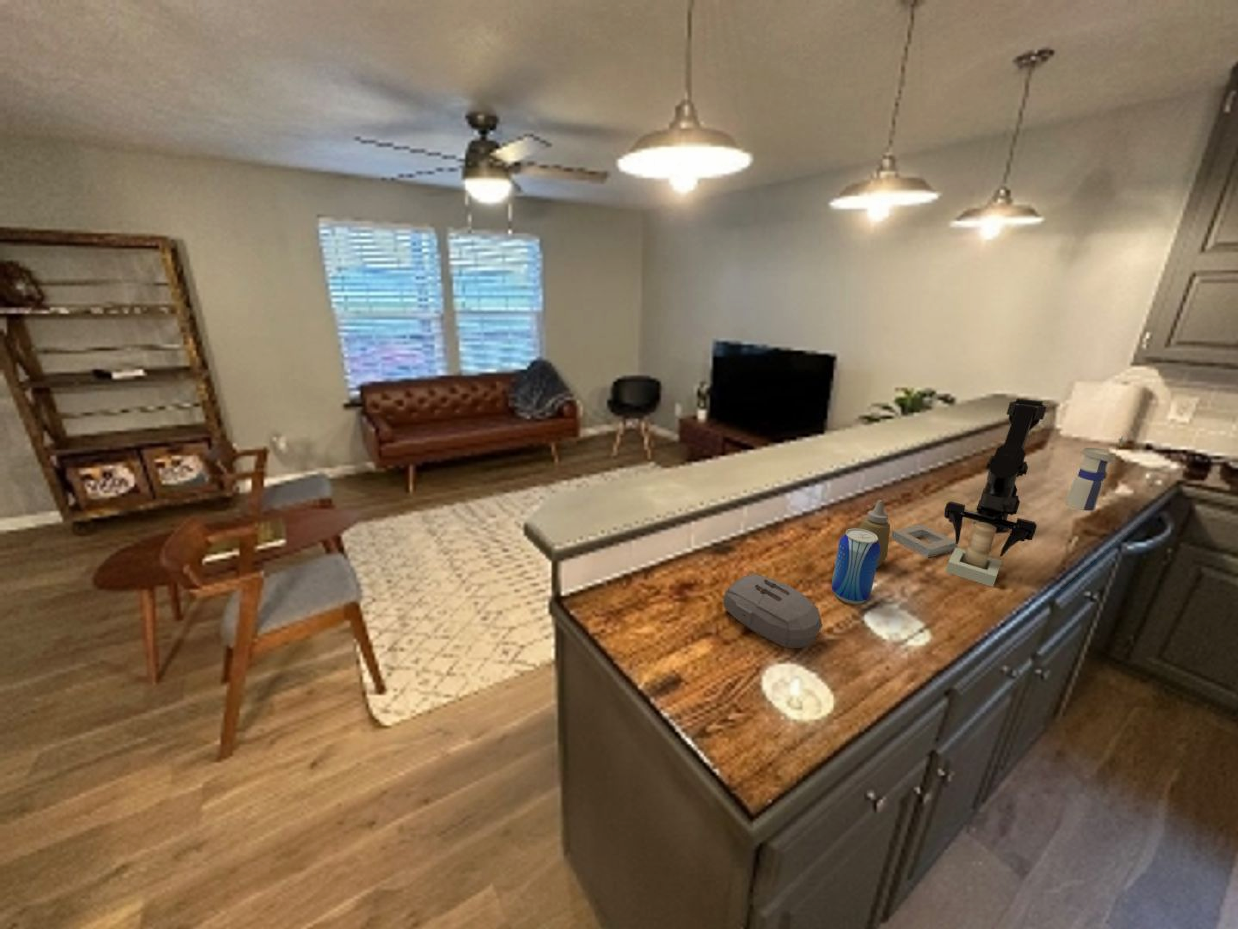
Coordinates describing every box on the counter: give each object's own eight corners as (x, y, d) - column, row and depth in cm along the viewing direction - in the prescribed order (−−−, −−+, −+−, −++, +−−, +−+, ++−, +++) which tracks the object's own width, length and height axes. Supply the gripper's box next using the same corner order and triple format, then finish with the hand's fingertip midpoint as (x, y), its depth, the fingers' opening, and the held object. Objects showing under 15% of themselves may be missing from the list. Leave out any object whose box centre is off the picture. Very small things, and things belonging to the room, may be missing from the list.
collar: (953, 557, 133) (955, 547, 132) (998, 570, 127) (1001, 560, 126) (945, 571, 126) (948, 561, 125) (992, 587, 120) (996, 576, 119)
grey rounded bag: (713, 614, 109) (794, 665, 95) (716, 582, 107) (800, 629, 92) (754, 589, 119) (834, 632, 104) (758, 559, 116) (840, 599, 101)
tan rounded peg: (963, 564, 130) (976, 520, 125) (983, 571, 127) (997, 526, 123) (960, 571, 127) (973, 526, 122) (981, 578, 124) (995, 532, 119)
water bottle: (1083, 500, 170) (1108, 431, 162) (1103, 511, 162) (1131, 438, 154) (1057, 499, 171) (1081, 430, 162) (1076, 510, 163) (1102, 437, 154)
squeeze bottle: (882, 558, 132) (896, 496, 126) (887, 573, 125) (901, 509, 119) (849, 553, 135) (861, 492, 129) (852, 568, 128) (865, 504, 122)
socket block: (919, 531, 147) (920, 524, 146) (956, 550, 137) (958, 542, 136) (890, 538, 143) (892, 530, 142) (927, 557, 133) (929, 549, 132)
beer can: (866, 610, 111) (880, 548, 105) (827, 598, 115) (838, 537, 110) (871, 592, 118) (884, 532, 112) (833, 581, 122) (844, 523, 116)
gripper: (955, 472, 128) (935, 524, 124) (1048, 492, 116) (1030, 550, 112) (953, 491, 136) (935, 541, 132) (1040, 512, 124) (1023, 567, 120)
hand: (978, 549), depth 124 cm, fingers open, 9 cm apart
